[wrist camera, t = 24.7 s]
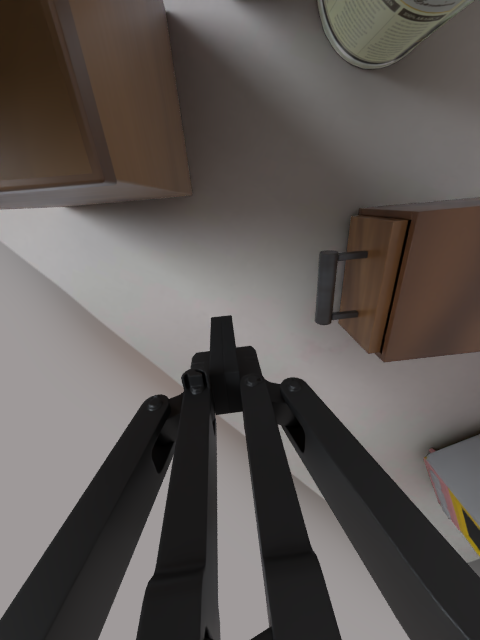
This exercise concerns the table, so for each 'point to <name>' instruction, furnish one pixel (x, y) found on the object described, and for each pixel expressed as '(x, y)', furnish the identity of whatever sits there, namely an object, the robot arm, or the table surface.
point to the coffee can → (382, 27)
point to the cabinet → (435, 281)
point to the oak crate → (88, 104)
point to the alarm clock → (458, 485)
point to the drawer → (364, 279)
